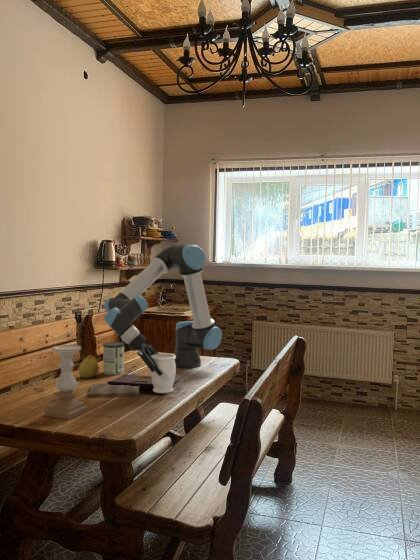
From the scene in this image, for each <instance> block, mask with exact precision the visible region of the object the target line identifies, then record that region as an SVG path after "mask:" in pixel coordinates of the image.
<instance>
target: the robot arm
mask: <svg viewBox="0 0 420 560" xmlns="http://www.w3.org/2000/svg"><path fill="white" fill-rule="evenodd" d="M205 262H206V254H205V252H204V249H203V248H201V247H200V246H199V245H196V244H190V243H187V244H172V245H169V246H167V247H165V248H164V249H162V250H161V251H160V252H158V253H157V254H156V255H155V256H154V257H153V258H152V259H151V263H149V264H148V266H147V267H146V268H144V269H143V270H142V271H141V272H140V273H139V274H138V275H137V276H136V277H134V279H132V280H131V282H129V284H127V285H126V286H125V287H124V288H123V289H122V290H121V291H120V292H119V293H117V295H116V296H114V297H112V296H111V297H108V298H107V299H106V300H105V301H104V303H103V304H104V305H103V308H104V310H105V312H106V314H105V315H104V318H103V320H104V322H105V323H106V324H107V325H108V326H109V327H110V328H111V329H112V330H113V332H115V333H116V335H117V336H118V337H120V339H121V342H123V343H125V344H127V345H128V347H129V348H130V349H131V350H132V351H133V352H135V351H136V350H137V352H136V354H137V355H138V356H139V357H140V358H141V360H142V361H143V362H144V364H145V365H146V367H147V368H148V369H149V371H150V373H151V372H153V371H154V372H155V373H156V374H157V375H158V376H159V377H160V378H161V379H162V380H163V381H164V382H166V381H167V380H168V379H169V378H170V377H169V376H168V375H167V374H166V373H165V372H164V371H163V370H162V369H161V368H160V367H158V366H157V364H156V363H155V361H154V360H153V358H152V357H151V355H154V354H160V353H159V352H158V351H157V350H156V349H155V348H154V347H153V346H152V345H151V344H150V343H147V344H146V343H145V342H146V341H147V338H146V336H145V335H143V333H140V330H139V329H138V328H137V327H136V326H135V325H134V324H133V323H132V322H134V321H135V320H136V319H138V318H139V317H140V316H141V315H142V314H144V313H145V311H146V310H148V308H149V303H148V301H147V300H146V299H145V297H143V296H142V294H143V293H144V292H146V290H147V289H148V288H150V287H151V285H153V284H154V283H155V282H156V280H158V278H160V277H161V276H162V275H163V274H164V275H165V274H167V273H168V272H170V270H172V269H178V273H179V276H181V277H183V281H184V286H185V289H186V294H187V298H188V302H189V306H190V311H191V314H192V315H191V316H192V320H187V321H186V320H185V321H179V322H177V323H176V325H175V350H174V353H173V355H175V356H176V359H175V364H176V368H179V369H180V368H181V369H189V368H191V369H192V368H193V369H194V368H198V367H200V366H202V360H201V356H200V353H199V350H198V349H199V348H200V349H204V350H215V349H217V348H218V346H219V345H220V344H221V341H222V338H223V332H222V330H221V328H220V327H218V326H216V323H215V322H216V321H215V320H214V319H213V318H212V317H211V314H210V310H209V306H208V305H209V304H208V300H207V297H206V292H205V287H204V282H203V278H202V272H203V271H204V266H205V264H206V263H205Z"/></svg>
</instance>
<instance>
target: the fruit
mask: <svg viewBox="0 0 420 560" xmlns="http://www.w3.org/2000/svg"><path fill="white" fill-rule="evenodd" d="M95 353H96V351H94V352H93V353H92V354H88V355H87V356H86V357H85V358H84V359H83V360H82V362H80V365H79V366H78V375H80V377H81V378H83V379H91V378H95V377H96V376H97V375H98V374H99V370H100V369H99V363H98V361H97V359H96V357H95V356H94V354H95Z"/></svg>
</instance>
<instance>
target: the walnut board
mask: <svg viewBox="0 0 420 560" xmlns="http://www.w3.org/2000/svg"><path fill="white" fill-rule="evenodd" d="M133 396H134V397H135V396H136V397H137V396H138V397H139V396H140V385H139V386H130V385H126V386H125V385H109V384H108V383H91V387H90V389H89V393H88V398H101V397H105V398H106V397H133Z"/></svg>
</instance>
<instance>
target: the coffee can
mask: <svg viewBox="0 0 420 560" xmlns="http://www.w3.org/2000/svg"><path fill="white" fill-rule="evenodd" d="M125 344H126V343H125V342H124V341H109V342H104V343H102V352H103V353H102V354H103V355H102V356H103V357H102V359H103V360H102V362H103V365H102V366H103V367H102V368H103V369H102V371H103V372H102V373H103V374H104V375H113V376H114V375H121V374H124V373H125Z"/></svg>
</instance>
